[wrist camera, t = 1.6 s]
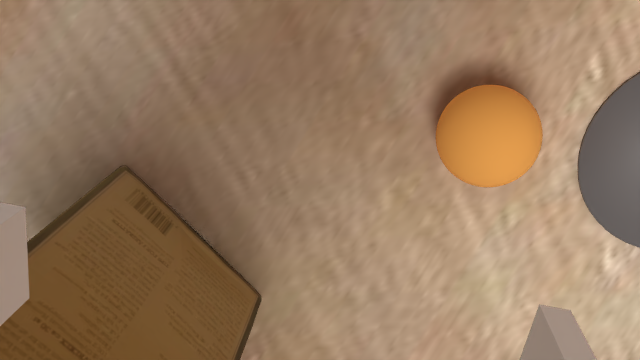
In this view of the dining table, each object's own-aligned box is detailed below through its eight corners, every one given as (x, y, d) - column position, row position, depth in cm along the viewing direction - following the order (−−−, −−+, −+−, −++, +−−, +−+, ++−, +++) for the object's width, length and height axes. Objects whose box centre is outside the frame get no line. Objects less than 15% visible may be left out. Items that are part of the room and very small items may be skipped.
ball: (422, 158, 35) (430, 193, 29) (443, 68, 32) (455, 88, 27) (513, 173, 34) (537, 211, 29) (540, 84, 32) (570, 107, 27)
